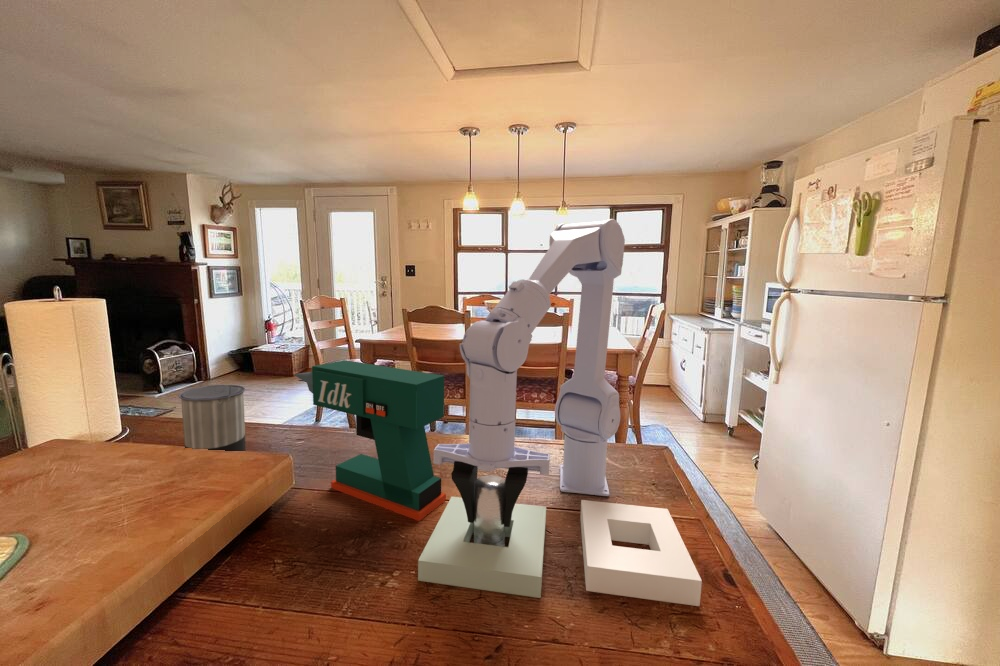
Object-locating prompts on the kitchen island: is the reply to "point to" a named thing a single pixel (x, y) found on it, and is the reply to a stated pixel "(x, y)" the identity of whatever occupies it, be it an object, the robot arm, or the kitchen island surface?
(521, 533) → the socket block
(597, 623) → the kitchen island surface
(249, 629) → the kitchen island surface
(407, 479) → the power tool
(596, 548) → the cream square-hole board
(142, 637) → the kitchen island surface
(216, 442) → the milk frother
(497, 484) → the steel peg
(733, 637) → the kitchen island surface
